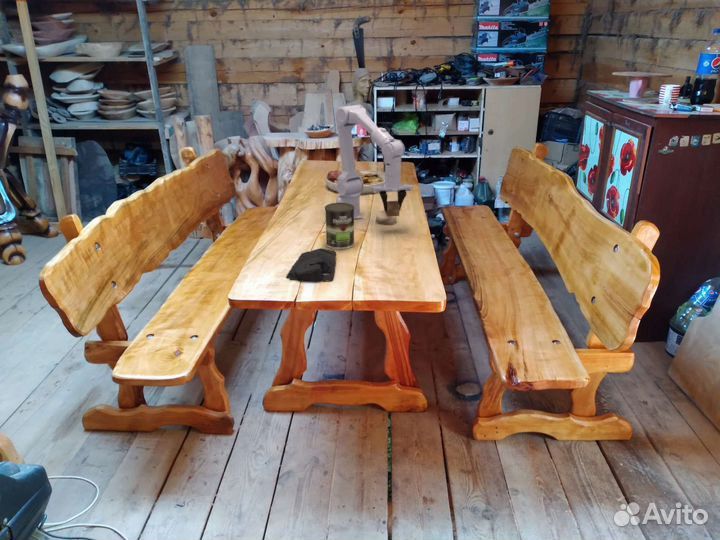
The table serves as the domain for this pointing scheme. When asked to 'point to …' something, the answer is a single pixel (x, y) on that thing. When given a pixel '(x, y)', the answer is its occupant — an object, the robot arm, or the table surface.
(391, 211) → the walnut cube
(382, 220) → the birch round
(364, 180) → the bowl
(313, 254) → the dark slate chunk
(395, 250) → the table surface
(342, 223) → the coffee can
